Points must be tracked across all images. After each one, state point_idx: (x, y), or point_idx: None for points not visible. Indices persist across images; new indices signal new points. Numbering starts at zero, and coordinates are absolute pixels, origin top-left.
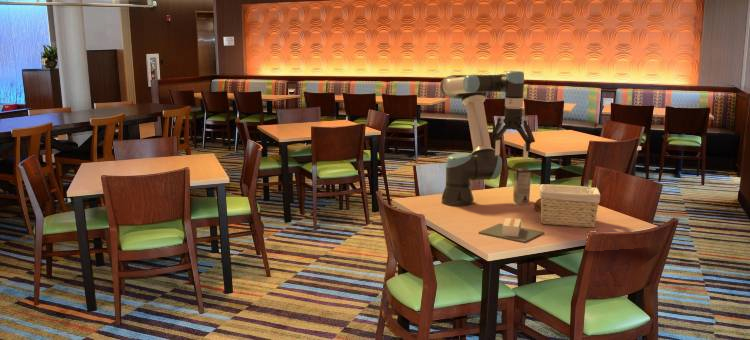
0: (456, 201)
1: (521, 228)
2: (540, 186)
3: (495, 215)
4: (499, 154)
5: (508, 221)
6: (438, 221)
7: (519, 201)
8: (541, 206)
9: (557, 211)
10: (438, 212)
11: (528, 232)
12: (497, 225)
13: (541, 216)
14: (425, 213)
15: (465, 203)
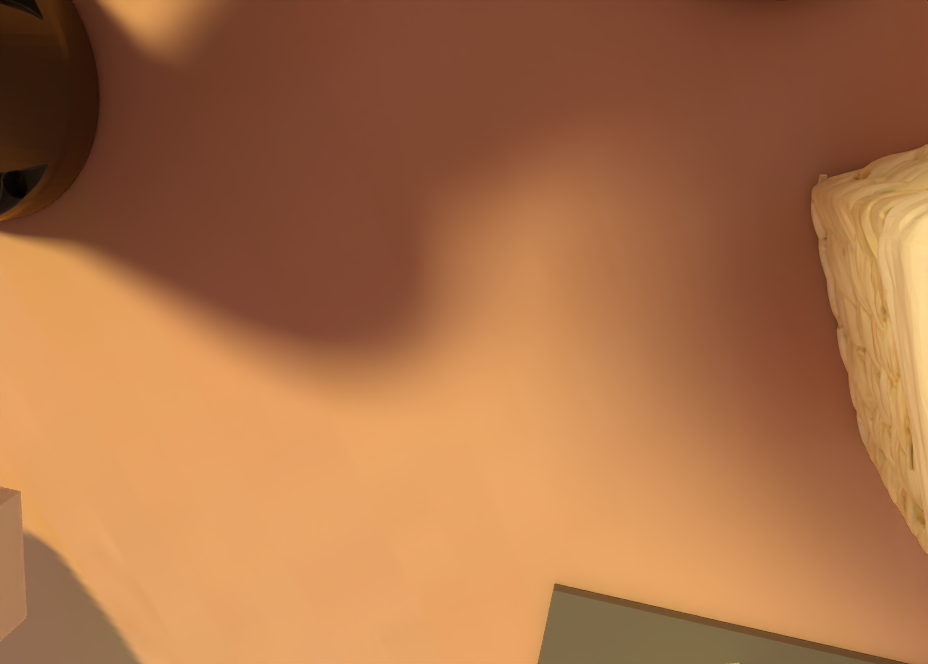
0: (4, 217)
1: (743, 655)
2: (926, 374)
3: (425, 342)
4: (19, 504)
5: None
6: (178, 659)
7: None
8: (843, 229)
9: None
10: (49, 456)
11: None
12: (559, 646)
13: (884, 484)
14: None
15: (69, 165)
